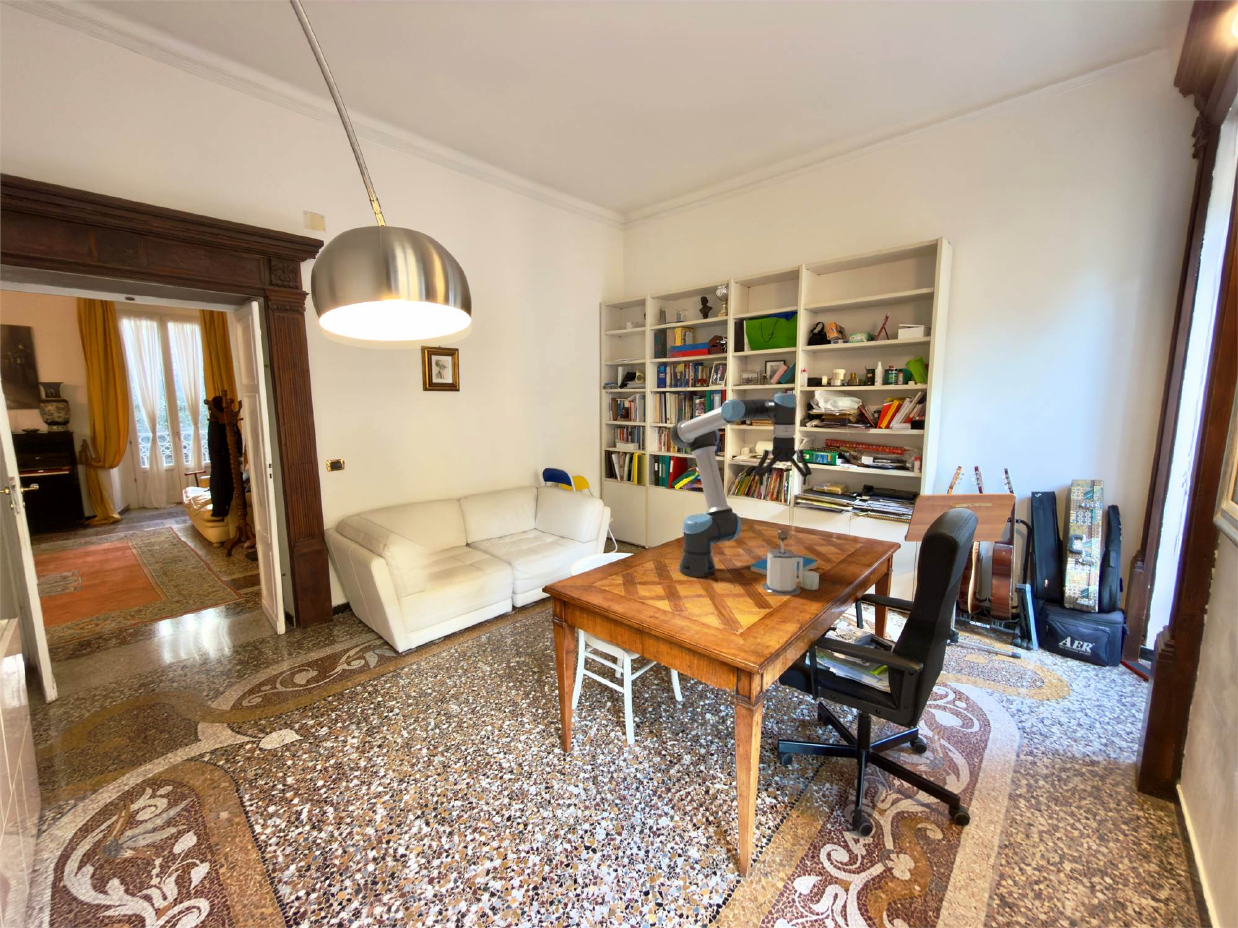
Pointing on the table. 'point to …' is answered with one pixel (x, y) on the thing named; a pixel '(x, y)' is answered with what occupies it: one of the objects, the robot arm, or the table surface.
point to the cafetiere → (783, 570)
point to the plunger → (782, 538)
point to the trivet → (781, 593)
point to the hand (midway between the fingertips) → (781, 494)
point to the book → (807, 564)
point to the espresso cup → (810, 580)
